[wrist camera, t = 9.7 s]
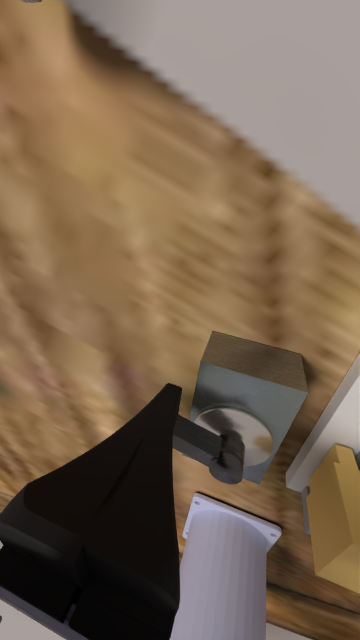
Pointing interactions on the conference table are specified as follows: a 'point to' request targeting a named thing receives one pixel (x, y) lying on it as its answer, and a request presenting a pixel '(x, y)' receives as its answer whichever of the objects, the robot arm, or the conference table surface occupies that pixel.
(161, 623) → the robot arm
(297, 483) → the rail
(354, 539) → the carriage
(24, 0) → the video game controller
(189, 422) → the dark lever handle
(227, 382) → the lever base
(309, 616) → the conference table surface
